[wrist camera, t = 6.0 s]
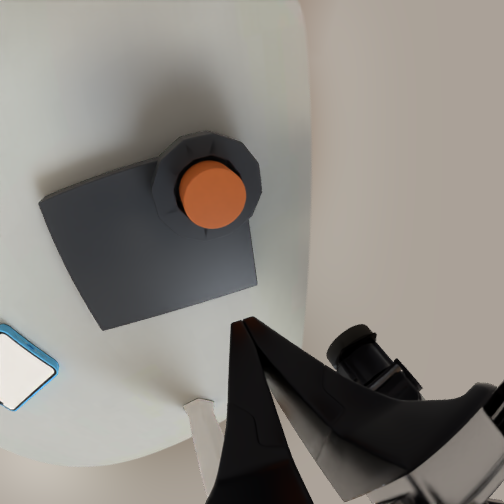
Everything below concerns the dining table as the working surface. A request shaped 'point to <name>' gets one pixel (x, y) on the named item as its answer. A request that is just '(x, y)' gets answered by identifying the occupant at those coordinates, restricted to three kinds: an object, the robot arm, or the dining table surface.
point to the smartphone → (22, 369)
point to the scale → (153, 234)
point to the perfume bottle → (206, 439)
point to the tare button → (212, 194)
